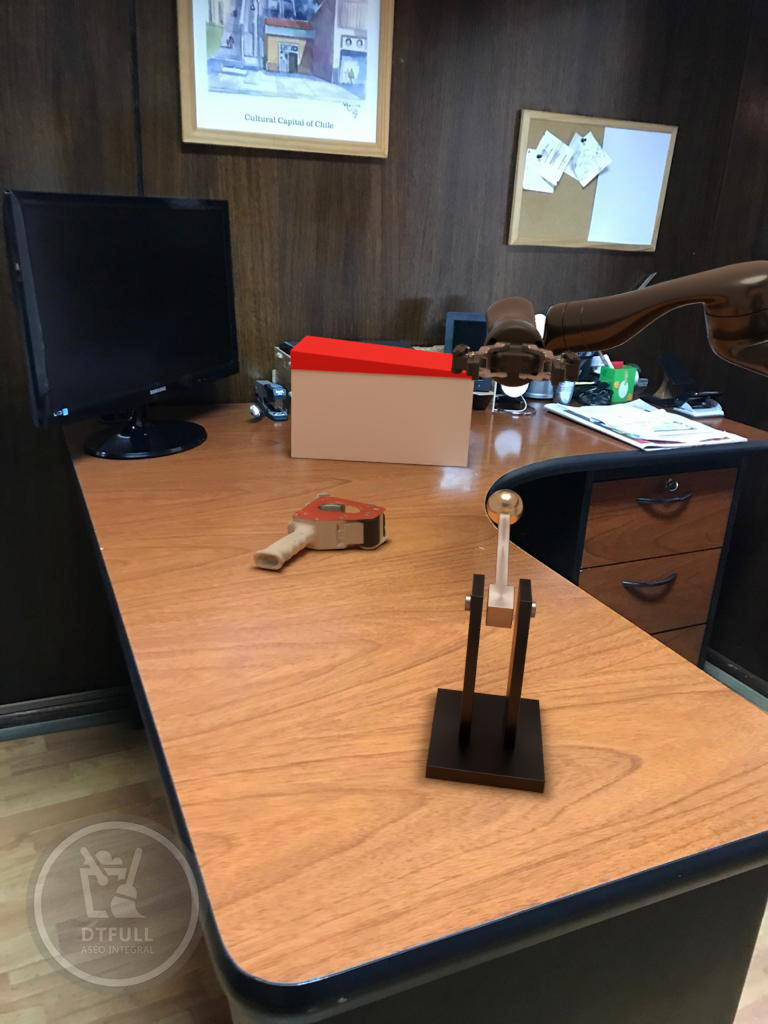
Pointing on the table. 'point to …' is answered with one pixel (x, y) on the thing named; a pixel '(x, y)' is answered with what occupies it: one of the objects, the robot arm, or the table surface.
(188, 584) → the table surface
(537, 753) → the bracket
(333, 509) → the tape dispenser
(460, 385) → the red-topped tan box
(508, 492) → the lever
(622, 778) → the table surface
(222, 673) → the table surface
